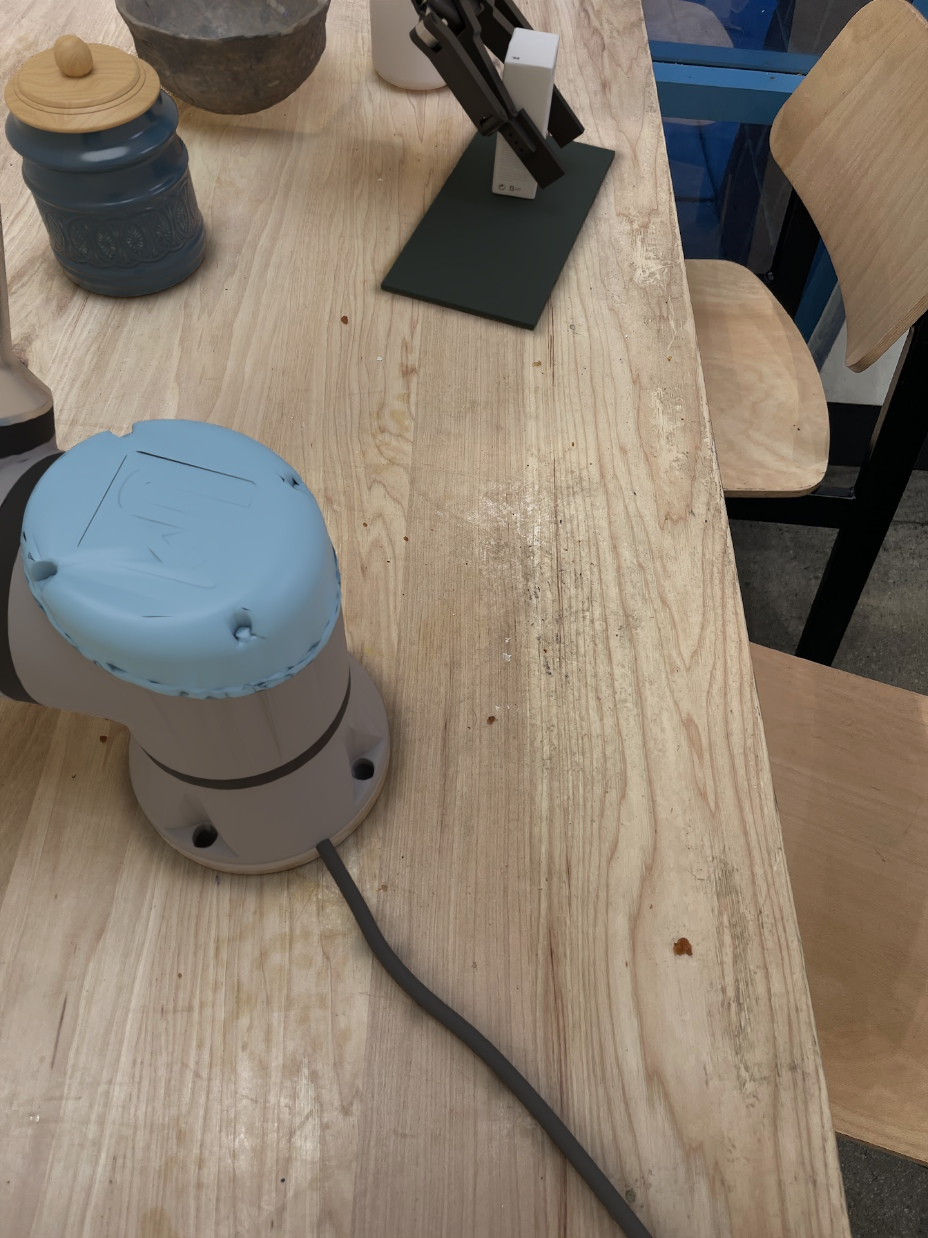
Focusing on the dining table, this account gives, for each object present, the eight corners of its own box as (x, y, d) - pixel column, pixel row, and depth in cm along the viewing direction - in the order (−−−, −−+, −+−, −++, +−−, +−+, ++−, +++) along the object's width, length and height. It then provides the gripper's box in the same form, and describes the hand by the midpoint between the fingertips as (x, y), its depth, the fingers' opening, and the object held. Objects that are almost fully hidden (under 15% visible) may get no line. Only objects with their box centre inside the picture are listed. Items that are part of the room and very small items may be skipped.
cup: (463, 97, 94) (467, -9, 85) (369, 93, 94) (364, -14, 85) (464, 49, 99) (468, -55, 91) (375, 45, 99) (371, -61, 90)
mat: (533, 330, 75) (534, 324, 75) (380, 289, 77) (380, 283, 77) (614, 156, 89) (615, 150, 89) (483, 125, 91) (484, 119, 91)
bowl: (184, 29, 99) (162, -78, 90) (362, 56, 97) (357, -50, 89) (108, 129, 88) (74, 18, 80) (307, 161, 87) (294, 52, 78)
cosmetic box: (535, 201, 84) (552, 69, 73) (491, 194, 84) (502, 61, 74) (543, 164, 87) (561, 32, 77) (501, 157, 87) (513, 25, 77)
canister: (36, 291, 75) (-61, 73, 60) (88, 201, 82) (13, -15, 67) (186, 308, 75) (126, 93, 60) (226, 216, 82) (181, 2, 67)
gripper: (403, -96, 78) (558, 127, 90) (319, 3, 68) (505, 238, 80) (463, -163, 73) (618, 83, 85) (381, -67, 63) (570, 196, 75)
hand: (563, 158), depth 82 cm, fingers closed on cosmetic box, 6 cm apart
